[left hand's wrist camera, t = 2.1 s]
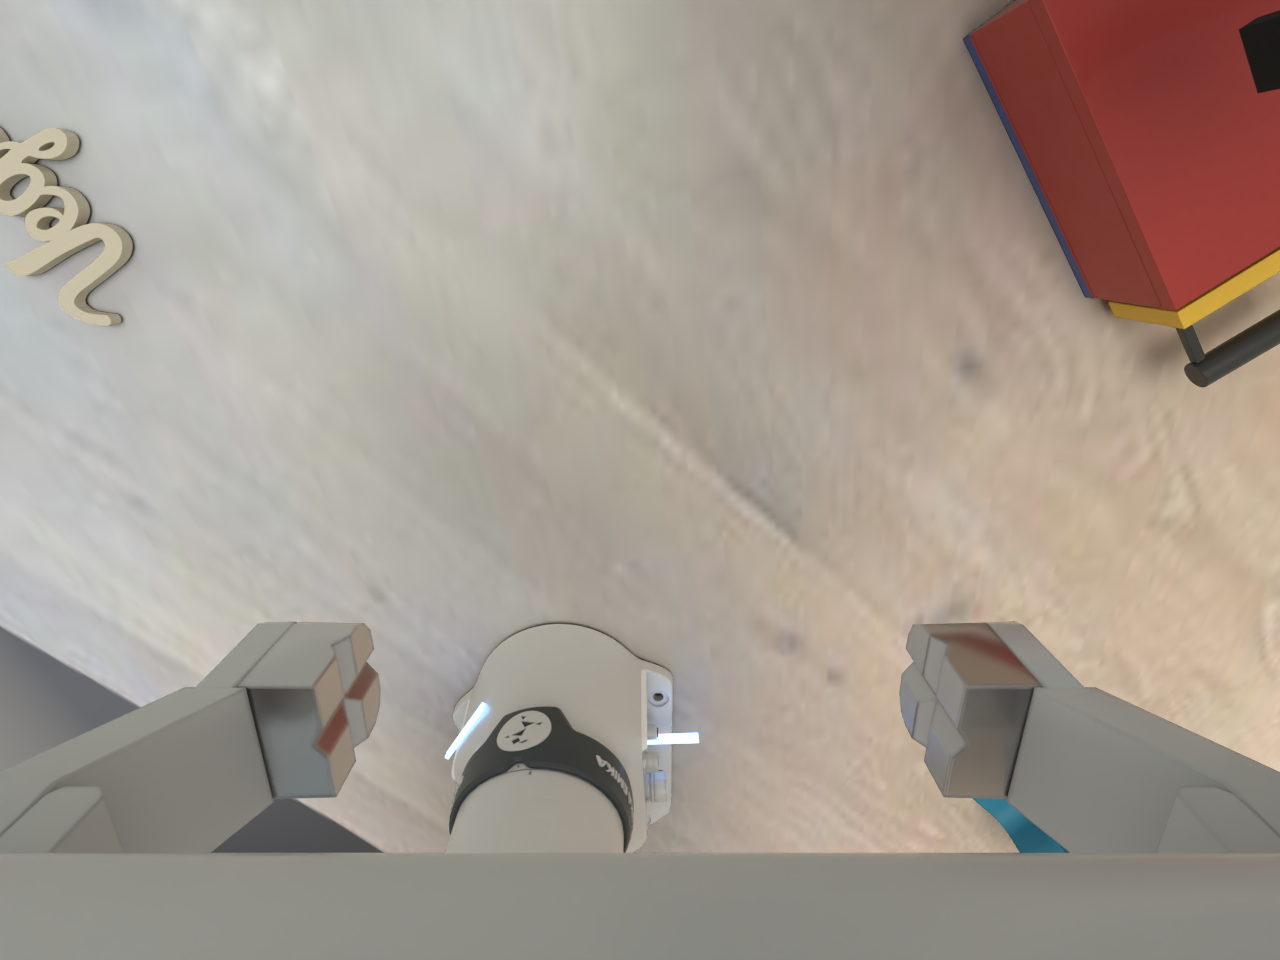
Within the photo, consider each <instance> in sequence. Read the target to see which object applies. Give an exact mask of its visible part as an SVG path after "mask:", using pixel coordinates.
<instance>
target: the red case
mask: <svg viewBox="0 0 1280 960" xmlns="http://www.w3.org/2000/svg"><path fill="white" fill-rule="evenodd" d="M1278 10H1280V0H1014V1H1013V2H1012V3H1010V4H1009V5H1008V6H1006V7H1005V8H1004V9H1002V10H1001V11H1000V12H998V13H997V14H996V15H994V16H993V17H992V18H990V19H989V20H988V21H986V22H985V23H984V24H982V25H981V26H980V27H978V28H977V29H976V30H974V31H973V32H971V33H970V34H969V35H967V36H966V37H965V38H963V40H964V42H965V44H966V46H967V48H968V50H969V52H970V54H971V56H972V59H973V61H974V63H975V65H976V67H977V69H978V71H979V73H980V75H981V78H982V80H983V82H984V84H985V86H986V88H987V90H988V92H989V95H990V97H991V99H992V101H993V103H994V105H995V107H996V109H997V111H998V114H999V116H1000V118H1001V120H1002V122H1003V124H1004V126H1005V128H1006V130H1007V133H1008V135H1009V137H1010V139H1011V141H1012V143H1013V145H1014V147H1015V150H1016V152H1017V154H1018V156H1019V158H1020V160H1021V162H1022V164H1023V166H1024V169H1025V171H1026V173H1027V175H1028V177H1029V179H1030V181H1031V183H1032V186H1033V188H1034V190H1035V192H1036V194H1037V196H1038V198H1039V200H1040V202H1041V205H1042V207H1043V209H1044V211H1045V213H1046V215H1047V217H1048V219H1049V221H1050V224H1051V226H1052V228H1053V230H1054V232H1055V234H1056V236H1057V238H1058V241H1059V243H1060V245H1061V247H1062V249H1063V251H1064V253H1065V255H1066V257H1067V260H1068V262H1069V264H1070V266H1071V268H1072V270H1073V272H1074V274H1075V276H1076V279H1077V281H1078V283H1079V285H1080V287H1081V289H1082V291H1083V293H1084V296H1085V297H1087V298H1098V299H1104V300H1111V301H1118V302H1124V303H1131V304H1138V305H1144V306H1151V307H1158V308H1164V309H1171V310H1177V309H1179V308H1180V307H1182V306H1184V305H1185V304H1187V303H1188V302H1190V301H1192V300H1193V299H1195V298H1197V297H1198V296H1200V295H1201V294H1203V293H1205V292H1206V291H1208V290H1210V289H1211V288H1213V287H1215V286H1216V285H1218V284H1219V283H1221V282H1223V281H1224V280H1226V279H1228V278H1229V277H1231V276H1232V275H1234V274H1236V273H1237V272H1239V271H1241V270H1242V269H1244V268H1245V267H1247V266H1249V265H1250V264H1252V263H1254V262H1255V261H1257V260H1258V259H1260V258H1262V257H1263V256H1265V255H1267V254H1268V253H1270V252H1272V251H1273V250H1275V249H1276V248H1278V247H1280V89H1277V90H1272V91H1267V92H1262V93H1257V89H1256V86H1255V83H1254V79H1253V76H1252V73H1251V69H1250V66H1249V63H1248V59H1247V56H1246V53H1245V49H1244V46H1243V43H1242V39H1241V36H1240V33H1239V29H1240V28H1242V27H1243V26H1245V25H1247V24H1248V23H1250V22H1251V21H1253V20H1254V19H1256V18H1257V17H1260V16H1263V15H1266V14H1269V13H1272V12H1275V11H1278Z"/></svg>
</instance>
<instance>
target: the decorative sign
mask: <svg viewBox="0 0 1280 960" xmlns="http://www.w3.org/2000/svg"><path fill="white" fill-rule="evenodd" d="M78 148H79V139H78V137H77V135H76V134H75V133H73V132H71V131H68V130H62V129H57V128H47V129H44V130H42V131H41V132H39V133H37V134H35V135H34V136H32V137H30V138H29V139H27V140H25V141H24V142H22V143H21V142H14V141H10V140H9V138H8V136H7V135H6V133H5V132H4V131H3V130H2V129H1V128H0V213H2V214H4V215H7V216H26V218H25V226H26V230H27V232H28V233H29V235H30V236H31V237H32V238H34V239H36V240H39V241H50V242H48V243H46V244H44V245H42V246H40V247H38V248H36V249H34V250H32V251H30V252H28V253H26V254H25V255H23V256H21V257H19V258H18V259H16V260H13V261H9V262H5V266H6V267H7V269H8V270H9V271H10V272H11V273H13V274H15V275H18V276H30V275H39V274H42V273H44V272H45V271H47V270H49V269H50V268H52V267H54V266H55V265H57V264H58V263H60V262H61V261H63V260H64V259H66V258H68V257H69V256H71V255H73V254H74V253H76V252H78V251H80V250H82V249H84V248H86V247H88V246H90V245H92V244H94V243H96V242H98V241H100V240H103V242H104V244H105V249H104V251H103V252H102V253H101V255H100V256H99V257H98V258H97V259H96V260H95V261H94V262H93V263H91V264H90V265H89V266H87V267H86V268H85V269H83V270H82V271H81V272H79V273H78V274H77V275H76V276H75V277H73V278H72V279H71V280H70V281H69V282H67V283H66V284H65V285H64V286H63V287H62V289H61V290H60V292H59V296H58V301H59V304H60V307H61V308H62V309H63V310H64V311H65V312H66V313H67V314H69V315H70V316H72V317H74V318H76V319H78V320H80V321H83V322H86V323H89V324H94V325H100V326H110V325H115V324H119V323H121V317H120V316H119V315H118V314H115V313H106V312H100V311H96V310H94V309H92V308H90V307H89V306H88V305H87V304H86V301H85V299H86V297H87V295H88V293H89V292H90V291H91V290H93V289H94V288H95V287H97V286H98V285H99V284H101V283H102V282H103V281H104V280H106V279H107V278H108V277H109V276H111V275H112V274H113V273H114V272H116V271H117V270H118V269H119V268H121V267H122V266H123V265H124V264H125V263H126V262H127V261H128V259H129V258H130V256H131V253H132V249H133V243H132V240H131V238H130V236H129V235H128V233H127V232H126V231H125V230H123V229H122V228H121V227H119V226H117V225H114V224H109V223H91V224H86V223H87V221H88V218H89V215H90V207H89V204H88V202H87V200H86V199H85V197H84V196H83V195H82V194H81V193H80V192H78V191H77V190H75V189H73V188H69V187H61V186H57V178H56V176H55V174H54V173H53V172H52V171H51V170H50V169H48V168H47V167H45V166H42V165H37V164H34V163H35V162H36V161H37V160H38V159H40V158H41V159H49V160H65V159H68V158H71V157H72V156H74V155H75V154H76V152H77V151H78ZM27 176H30V178H31V181H30V184H29V186H28V188H27V189H26V191H25V192H24V193H23V194H22V195H21V196H20V197H18V198H16V199H13V198H12V197H11V196H10V190H11V188H12V187H13V186H14V185H15V184H16V183H17V182H18V181H20V180H21V179H23V178H25V177H27ZM55 195H56V196H59V197H61V198H62V199H63V201H64V205H65V209H63V208H42V207H43V206H45V205H46V204H47V203H48V201H49V200H50V199H51V198H52V196H55ZM54 218H58V219H59V222H58V223H57V224H56V225H55V226H53V227H52V228H50V227H49V224H50V222H51V220H53V219H54Z"/></svg>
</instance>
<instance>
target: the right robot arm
mask: <svg viewBox="0 0 1280 960" xmlns="http://www.w3.org/2000/svg"><path fill="white" fill-rule="evenodd" d="M1239 33H1240V36H1241V39H1242V43H1243V46H1244V49H1245V53H1246V56H1247V59H1248V63H1249V66H1250V69H1251V73H1252V76H1253V79H1254V83H1255V86H1256V89H1257V93H1262V92H1267V91H1272V90H1277V89H1280V10H1278V11H1275V12H1272V13H1269V14H1266V15H1263V16H1260V17H1257V18H1256V19H1254V20H1253V21H1251V22H1250V23H1248V24H1247V25H1245V26H1243V27H1242V28H1240V29H1239Z"/></svg>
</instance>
